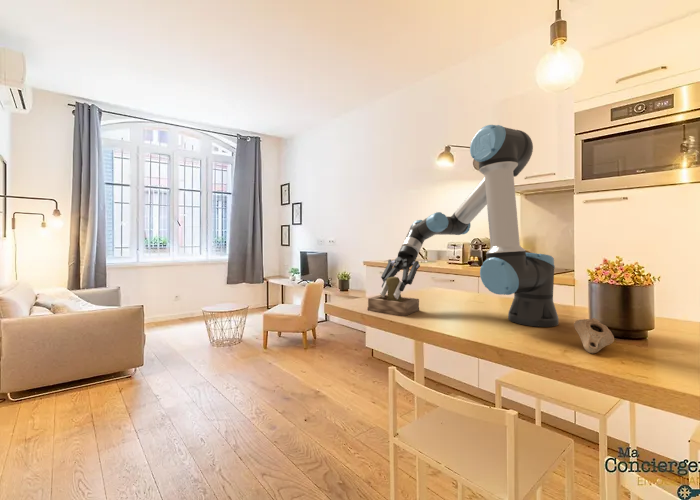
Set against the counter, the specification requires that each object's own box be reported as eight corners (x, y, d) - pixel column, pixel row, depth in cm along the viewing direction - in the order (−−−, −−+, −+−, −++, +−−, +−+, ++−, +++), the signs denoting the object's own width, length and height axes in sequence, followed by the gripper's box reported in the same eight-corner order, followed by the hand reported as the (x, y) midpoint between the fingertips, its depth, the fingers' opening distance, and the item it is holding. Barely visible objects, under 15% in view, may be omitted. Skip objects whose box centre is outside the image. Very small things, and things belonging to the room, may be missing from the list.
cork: (392, 303, 139) (389, 276, 139) (405, 304, 135) (403, 275, 135) (384, 306, 134) (381, 278, 134) (397, 307, 130) (395, 277, 130)
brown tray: (419, 310, 136) (419, 298, 135) (404, 316, 126) (404, 303, 126) (383, 305, 145) (383, 294, 145) (367, 310, 136) (367, 298, 135)
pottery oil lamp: (568, 350, 90) (569, 323, 89) (576, 339, 99) (576, 315, 98) (610, 358, 84) (612, 329, 84) (614, 346, 93) (616, 320, 93)
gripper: (432, 258, 141) (413, 305, 129) (393, 256, 152) (372, 299, 140) (427, 245, 137) (407, 292, 125) (387, 244, 148) (364, 287, 136)
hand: (388, 296), depth 132 cm, fingers closed on cork, 5 cm apart
